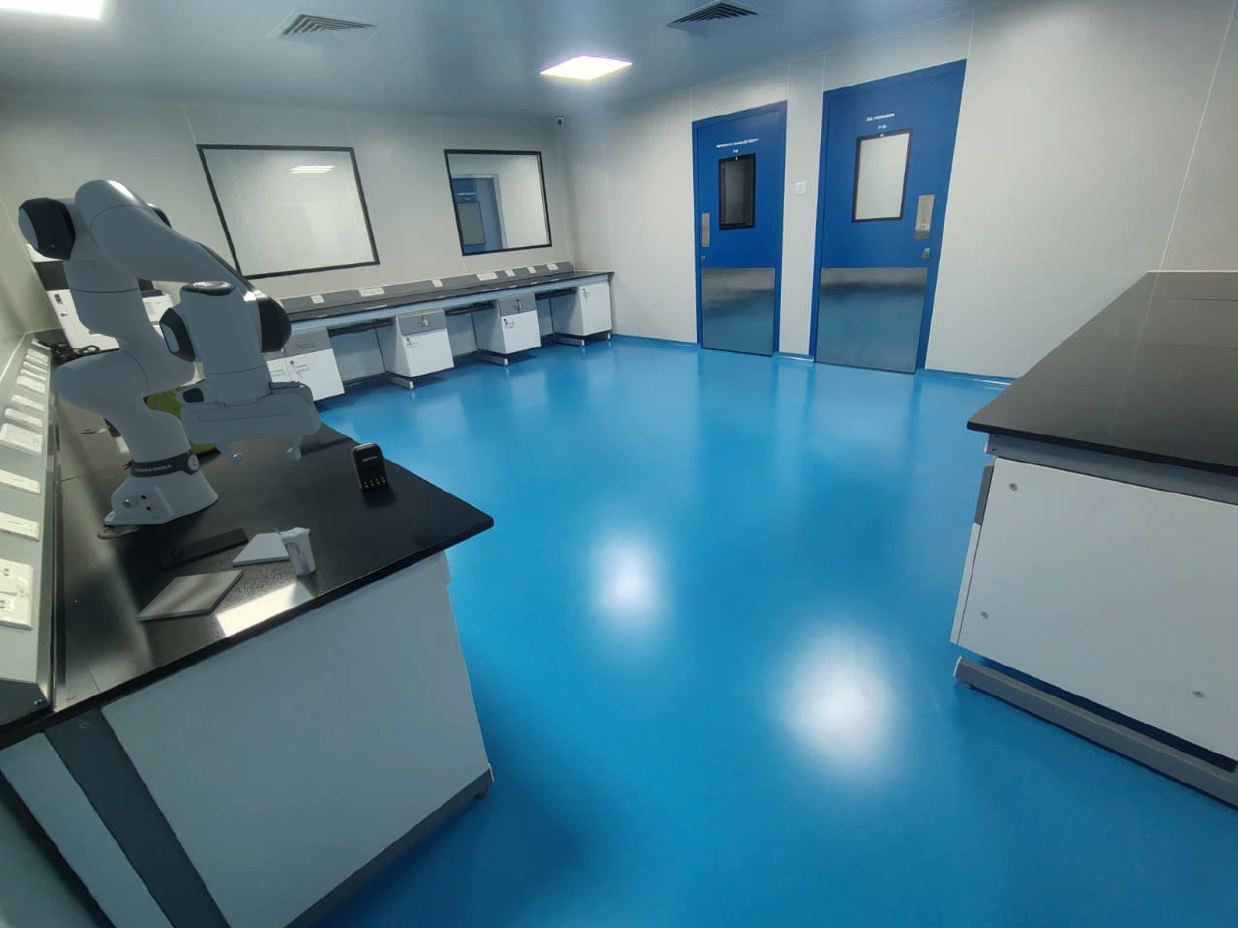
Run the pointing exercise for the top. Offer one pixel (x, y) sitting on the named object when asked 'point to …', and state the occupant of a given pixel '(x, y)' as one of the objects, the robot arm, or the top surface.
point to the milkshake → (299, 550)
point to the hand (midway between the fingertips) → (267, 461)
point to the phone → (202, 548)
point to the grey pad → (263, 549)
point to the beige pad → (190, 595)
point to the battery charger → (369, 466)
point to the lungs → (173, 411)
